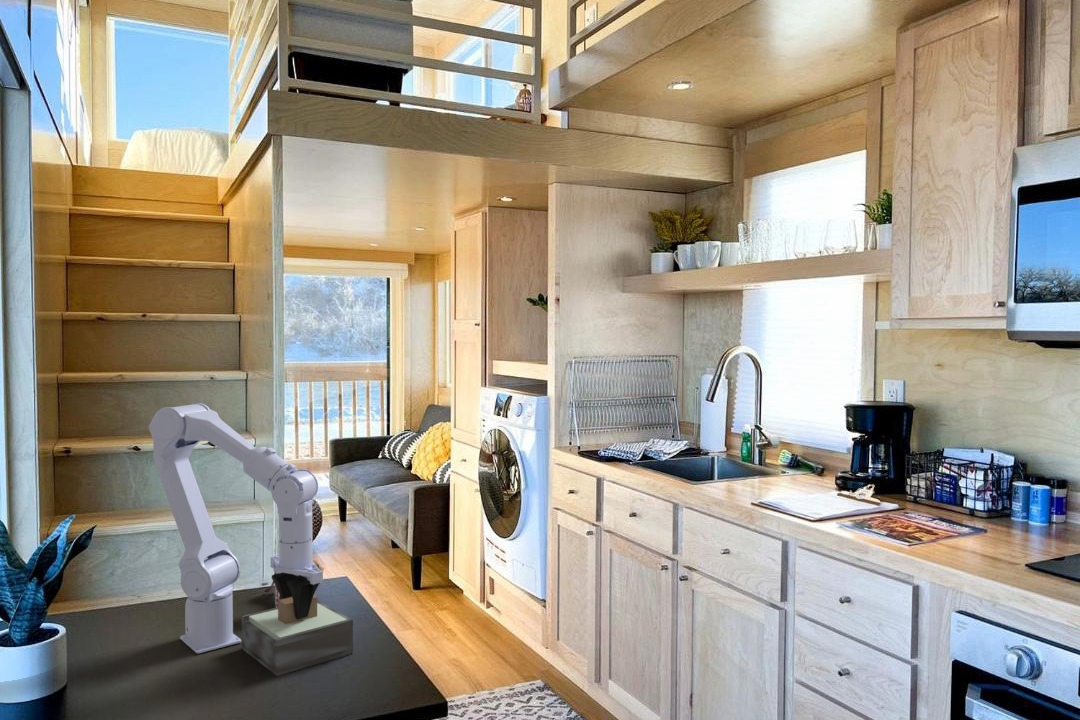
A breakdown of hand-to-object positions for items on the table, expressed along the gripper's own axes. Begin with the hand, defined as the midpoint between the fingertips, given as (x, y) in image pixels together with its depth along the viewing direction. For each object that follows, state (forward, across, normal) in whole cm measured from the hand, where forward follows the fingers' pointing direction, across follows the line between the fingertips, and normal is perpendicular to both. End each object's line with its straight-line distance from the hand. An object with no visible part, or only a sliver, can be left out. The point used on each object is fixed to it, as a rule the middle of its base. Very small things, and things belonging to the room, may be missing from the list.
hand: (296, 614), depth 141 cm
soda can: (+7, -18, +10) cm, 22 cm away
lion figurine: (+7, -26, +14) cm, 30 cm away
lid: (+2, 0, 0) cm, 2 cm away
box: (+7, 0, 0) cm, 7 cm away
